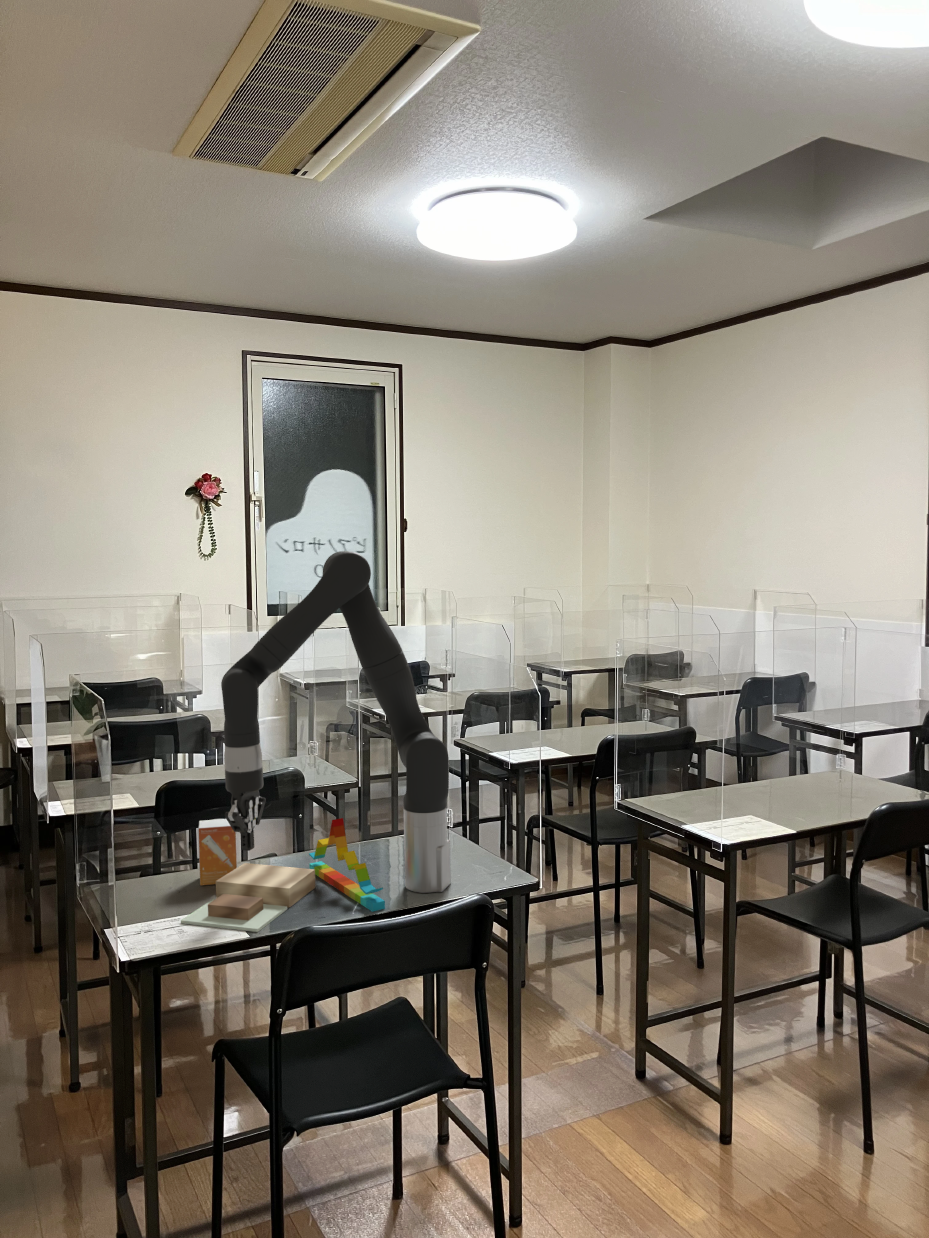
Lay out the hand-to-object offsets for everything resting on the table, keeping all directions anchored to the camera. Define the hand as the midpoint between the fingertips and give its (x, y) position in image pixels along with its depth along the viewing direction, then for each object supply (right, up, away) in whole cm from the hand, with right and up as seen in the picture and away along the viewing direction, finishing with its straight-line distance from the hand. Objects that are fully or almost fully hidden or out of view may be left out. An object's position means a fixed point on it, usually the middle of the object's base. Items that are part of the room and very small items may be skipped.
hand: (248, 849), depth 202 cm
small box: (-10, -11, +17) cm, 23 cm away
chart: (+19, -11, +10) cm, 24 cm away
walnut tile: (-1, -11, -4) cm, 12 cm away
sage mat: (-2, -12, -4) cm, 13 cm away
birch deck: (+2, -11, +8) cm, 14 cm away
